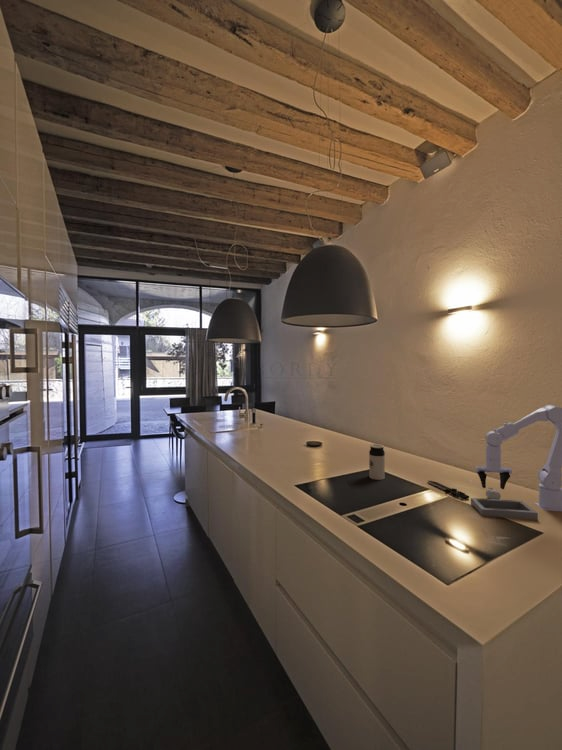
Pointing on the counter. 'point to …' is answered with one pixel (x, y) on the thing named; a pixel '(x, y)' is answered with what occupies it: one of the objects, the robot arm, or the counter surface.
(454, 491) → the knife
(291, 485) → the counter surface
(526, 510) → the tray
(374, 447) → the travel mug
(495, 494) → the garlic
